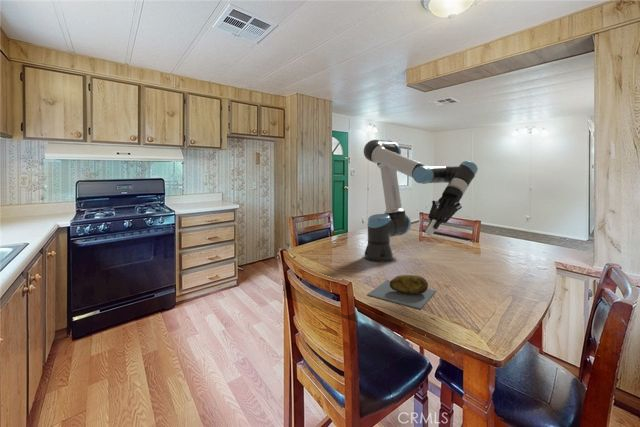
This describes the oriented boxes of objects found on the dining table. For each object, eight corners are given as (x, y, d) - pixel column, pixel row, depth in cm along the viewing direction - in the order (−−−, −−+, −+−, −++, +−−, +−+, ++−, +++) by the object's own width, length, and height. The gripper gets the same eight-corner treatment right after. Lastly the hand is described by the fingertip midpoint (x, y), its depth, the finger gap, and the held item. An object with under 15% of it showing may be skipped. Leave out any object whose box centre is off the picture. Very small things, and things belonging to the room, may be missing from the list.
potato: (392, 268, 113) (399, 265, 106) (423, 281, 113) (432, 278, 105) (386, 288, 111) (392, 286, 103) (418, 301, 110) (426, 300, 102)
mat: (367, 295, 107) (367, 294, 107) (387, 280, 122) (387, 279, 122) (420, 309, 95) (420, 308, 95) (436, 291, 110) (436, 290, 110)
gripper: (472, 198, 119) (446, 242, 113) (444, 196, 130) (418, 236, 123) (466, 185, 116) (438, 231, 109) (437, 184, 126) (411, 225, 120)
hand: (428, 233), depth 116 cm, fingers closed
